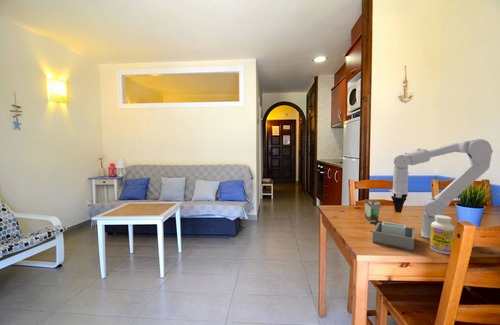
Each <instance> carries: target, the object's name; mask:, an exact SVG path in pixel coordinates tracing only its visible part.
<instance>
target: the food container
mask: <svg viewBox="0 0 500 325" xmlns="http://www.w3.org/2000/svg"><path fill="white" fill-rule="evenodd" d="M363 203H364V219H365V220H366V221H367V222H368V223H369V224H372V225H373V224H377V223H379V216H380V209H381V208H382V206H381V202H379V201H376V200H371V199H364V202H363Z"/></svg>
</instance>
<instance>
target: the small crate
mask: <svg viewBox="0 0 500 325" xmlns="http://www.w3.org/2000/svg"><path fill="white" fill-rule="evenodd" d="M381 223H382V233H387V234H392V235H398V236H403V237H405V228H406V227H407V226H406V224H399V223H393V222H387V221H382V222H381Z"/></svg>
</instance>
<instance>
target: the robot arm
mask: <svg viewBox="0 0 500 325" xmlns="http://www.w3.org/2000/svg"><path fill="white" fill-rule="evenodd" d="M493 152H494V151H493V148H492V145H491V143H490V142H489V141H487V140H486V139H484V138H483V139H481V138H476V139H472V140H466V141H460V142H459V141H458V142H453V143H451V144H447V145H444V146H443V145H442V146H440V147H437V148H433V149H431V150H428V149H425V148H422V149H421V148H417V149H416V150H414V151H410V152H404V154H400V155H398V156H396V157H394V159H393V164H394V167H393V174H392V175H393V176H392V189H389V192H391V193H392V195H391V199H392V202H393V206H394V207H393V208H394V212H395V213H399V214H401V213H402V211H403V208H404V203H405V202H406V200H407V199H408V198H407V197H408V194H409V191H408V189H409V188H408V187H409V174H410V173H409V166H415V165H420V164H424V163H427V162H430V160H431V159H432V158H435V157H438V156H442V155H443V156H445V155H447V154H452V153H462V154H466V155H467V156H468V158H469V163H470V165H469V166H468V167H467V168H465V170H464V171H462V172H461V173H460V174H459V175H458V176H457V177H456V178H455V179H454V180H453V181H452V182H450V184H448V185H447V186H446V187H445V188H443V189H442V191H440V193H438V194H436V195H435V196H434V197H432V198H430V199H427V200H426V201H424V205H423V206H424V212H423V213H422V222H421V224H422V225H421V227H422V228H421V229H422V230H421V231H420V237H421V238H426V239H430V236H431V223H432V222H435V215H444V213H445V210H446V209H447V208H448V207H449V205H450V204H451V203H452V201H454V200H455V199H457V197H459V195H461V193H463V192H464V191H466V190H467V189H468V188H469V187H470V186H471V185H472V184H473V183H474V182H475V181H477V180H478V179H479V178H480V177H482V175H483V174H485V173H487V171H488V170H489V169H490V166H491V162H492V161H491V160H492V155H493ZM451 222H452V221H451ZM451 222H450V224H452V223H451Z"/></svg>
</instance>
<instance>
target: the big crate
mask: <svg viewBox="0 0 500 325" xmlns="http://www.w3.org/2000/svg"><path fill="white" fill-rule="evenodd" d="M382 223H383V222H378V223H376V225H375V227H374V229H373V230H372V243H373V244H378V245H382V246H388V247H392V248H398V249H402V250H407V251H412V252H414V251H415V239H416V238H415V236H416V233H415V232H416V229H415V227H409V226H406V228H405V237H403V236H398V235H392V234H387V233H382Z"/></svg>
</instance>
